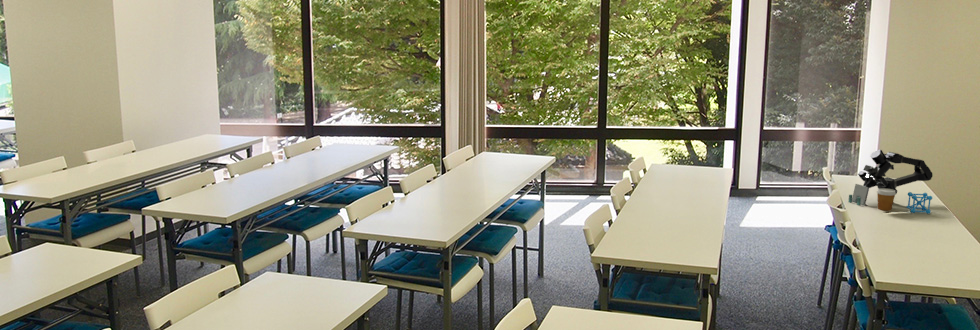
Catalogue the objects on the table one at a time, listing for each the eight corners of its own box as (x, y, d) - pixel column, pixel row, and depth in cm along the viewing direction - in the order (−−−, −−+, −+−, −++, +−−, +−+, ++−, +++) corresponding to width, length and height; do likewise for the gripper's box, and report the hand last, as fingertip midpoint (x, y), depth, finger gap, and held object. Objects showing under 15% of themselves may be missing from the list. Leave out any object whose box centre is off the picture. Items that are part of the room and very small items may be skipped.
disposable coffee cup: (889, 209, 430) (892, 188, 428) (897, 213, 421) (899, 192, 419) (872, 209, 431) (874, 187, 429) (878, 213, 422) (880, 191, 420)
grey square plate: (852, 202, 444) (857, 183, 443) (864, 206, 435) (869, 187, 433) (851, 201, 444) (855, 183, 443) (863, 206, 435) (867, 187, 433)
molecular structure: (931, 214, 420) (933, 196, 418) (911, 213, 422) (913, 195, 420) (925, 209, 430) (926, 192, 428) (905, 209, 432) (907, 191, 430)
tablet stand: (860, 202, 448) (861, 192, 447) (876, 207, 435) (877, 197, 434) (844, 203, 445) (845, 193, 444) (861, 208, 432) (861, 198, 431)
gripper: (862, 157, 446) (843, 177, 445) (885, 163, 428) (866, 183, 427) (872, 170, 449) (854, 189, 448) (896, 176, 431) (877, 196, 431)
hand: (862, 189), depth 439 cm, fingers closed, pressing on grey square plate
